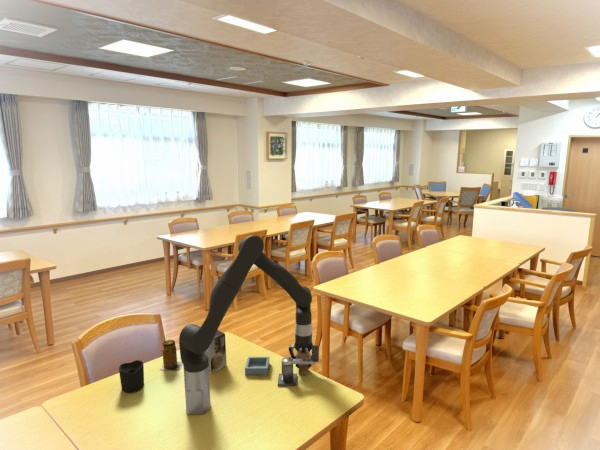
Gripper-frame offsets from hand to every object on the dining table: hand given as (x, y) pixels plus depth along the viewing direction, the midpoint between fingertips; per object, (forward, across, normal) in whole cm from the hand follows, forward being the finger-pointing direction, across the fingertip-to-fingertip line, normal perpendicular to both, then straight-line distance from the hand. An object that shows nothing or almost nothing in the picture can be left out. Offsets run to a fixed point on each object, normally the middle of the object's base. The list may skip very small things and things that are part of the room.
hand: (303, 367), depth 176 cm
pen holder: (+3, -72, -12) cm, 73 cm away
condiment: (+3, -61, +5) cm, 61 cm away
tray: (+2, -21, +2) cm, 21 cm away
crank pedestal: (+2, -7, +1) cm, 7 cm away
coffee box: (+3, -41, +4) cm, 41 cm away
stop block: (+2, 0, 0) cm, 2 cm away
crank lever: (-6, -1, -7) cm, 9 cm away
